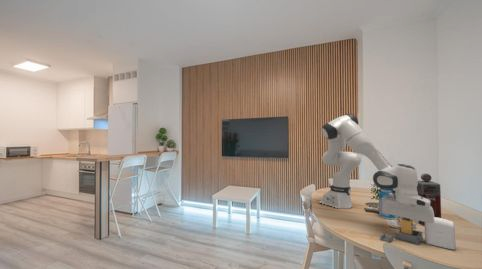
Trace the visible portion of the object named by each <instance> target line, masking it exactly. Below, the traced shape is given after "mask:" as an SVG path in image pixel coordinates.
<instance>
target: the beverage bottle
mask: <svg viewBox="0 0 482 269" xmlns="http://www.w3.org/2000/svg"><path fill="white" fill-rule="evenodd" d="M379 189H380V191H379V193H378V196H379V197H378V210H379V211H378V213H379V214H378V216H379V217H380V218H382V219H386V220H396V218H395V216H394V215H389V214H385V213H383V212H382V205H383V202H382V197H383V196H385V195H388V196H395V193H394V192H393V191H394V189H382V188H379Z"/></svg>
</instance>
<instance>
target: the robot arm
mask: <svg viewBox="0 0 482 269" xmlns="http://www.w3.org/2000/svg"><path fill="white" fill-rule="evenodd" d="M321 132H322V135H323V136H324V138H326V139H327V143H328V149H327V151H325V152H324V153H323V154H322V157H321V158H322V159H321V160H322V162H323V164H324V165H326V166H329V167H337V168H338V167H339V168H341V169H340V170H338V171H336V172H333V174H332V185H330V186H329V189H330V190H328V191H326V193H324V194H323V195H322V199H320V200H319V201H321V202H318V204H319V203H322V204H321V205H323V204H326V205H329V206H332V207H331V208H333V207H335V208H334V209H337V208H338V209H351V207H352V206H353V203H352V200H351V199H352V198H351V192H352V190H351V184H350V181H351V176H352V175H351V174H352V173H353V171H354V170H355V169H356V168H358V167H359V165H360V164H361V162H362V158H361V156H360V155H362V156H365V157H366V158H368V159H369V160H370V162H371V163H372V164H373V165H374V166H375V168H376V169H377V170H378V171H376V172H375V173H374V174H373V176H372V181H373V183H374V184H375V186H376V187H377V188H378V189H380V188H382V189H393V190H394V191H395V193H394V196H388V195H385V196H383V197H382V202H383V205H382V212H383V213H385V214H389V215H394V216H395V220H396V221H397V226H399V227H401V219H400V218H409V219H412V220H413V221H414V223H413V224H412V229H413V230H417V225H418V224H419V221H423V222H428V223H433V222H434V211H433V208H432V207H431V206H430V203H431V202H430V200H429V199H426V198H424V197H421V196H419V195H418V191H417V185H418V181H419V180H418V173H417V170H416V168H415V167H414V166H413V165H409V164H404V163H398V164H396V165H391V163H389V162H388V160H386V158H385V156H383V154H382V153H381V152H380V151H379V149H377V148H376V146H375V144H373V142H372V140H371V139H370V138H369V136H368V135H367V134H366V132H365V131H364V130H363V128H362V127H361V126H359V119H358V117H357V116H356V115H355V114H354V113H346V114H344V115H341V116H339V117H336V118H334V119H332V120H330V121H329V122H327V123H325V124H323V125H322V127H321ZM347 145H348V146H347ZM346 146H347V147H349V148H350V149H351V150H352V151H343V150H344V149H345V148H346ZM326 205H325V206H326ZM329 206H328V207H329ZM352 208H353V207H352Z"/></svg>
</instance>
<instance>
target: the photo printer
mask: <svg viewBox="0 0 482 269" xmlns="http://www.w3.org/2000/svg"><path fill="white" fill-rule="evenodd" d="M456 240H457V239H456V227H455V224H454V222H453V221H452V220H449V219H445V218H442V217H441V218H438V217H434V222H433V223H428V222H425V226H424V242H425V243H426V244H427V245H430V246H431V245H432V246H434V247H439V248H444V249H449V250H453V251H454V250H456V249H457V244H456V243H457V242H456Z"/></svg>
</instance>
